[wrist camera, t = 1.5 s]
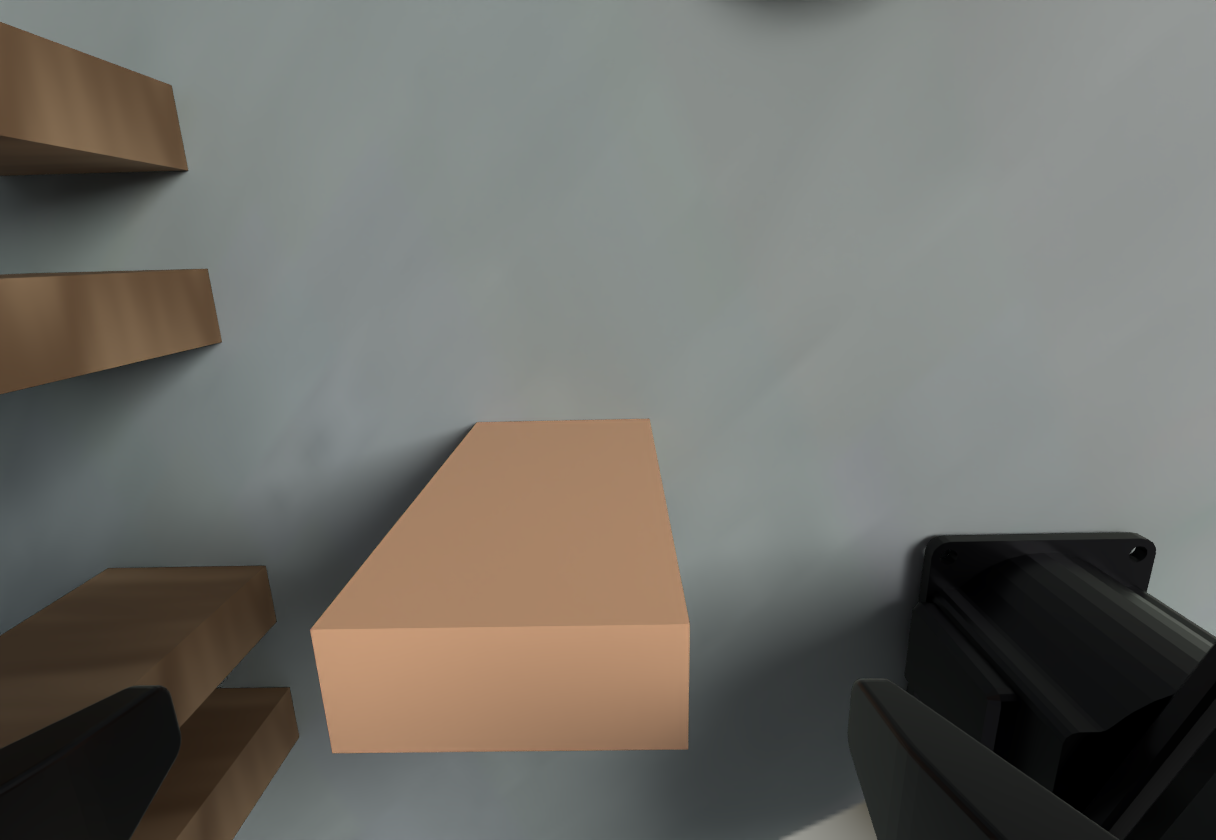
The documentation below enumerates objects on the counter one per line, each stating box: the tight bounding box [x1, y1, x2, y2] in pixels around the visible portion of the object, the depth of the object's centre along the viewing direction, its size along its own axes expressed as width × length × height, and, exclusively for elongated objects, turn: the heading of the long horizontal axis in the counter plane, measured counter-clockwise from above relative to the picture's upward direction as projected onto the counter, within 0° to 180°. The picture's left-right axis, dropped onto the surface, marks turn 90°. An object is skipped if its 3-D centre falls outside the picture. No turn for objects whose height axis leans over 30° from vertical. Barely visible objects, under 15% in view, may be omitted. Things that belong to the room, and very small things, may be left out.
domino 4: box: [0, 566, 277, 748], centre depth 15 cm, size 2×5×10 cm, turn 92°
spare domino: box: [310, 419, 690, 753], centre depth 13 cm, size 2×5×10 cm, turn 92°
